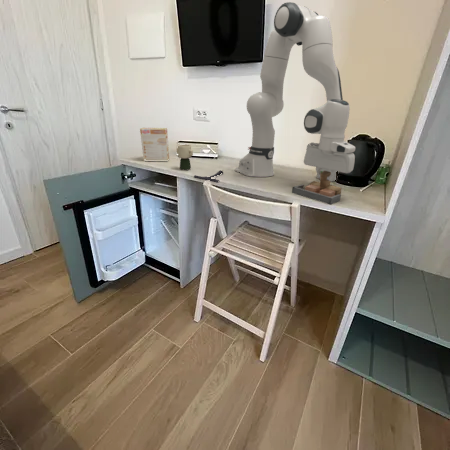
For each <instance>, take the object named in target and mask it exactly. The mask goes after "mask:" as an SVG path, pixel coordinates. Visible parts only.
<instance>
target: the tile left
mask: <svg viewBox="0 0 450 450" xmlns="http://www.w3.org/2000/svg"><path fill="white" fill-rule="evenodd" d="M304 187H305V188H304V190H308V191H311V192H315V193H318V194H319V192H320V188H321V187H319V186H315V185H312V184H311V185H310V184H309V185H306V186H304Z"/></svg>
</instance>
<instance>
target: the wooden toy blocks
mask: <svg viewBox="0 0 450 450" xmlns="http://www.w3.org/2000/svg"><path fill="white" fill-rule="evenodd" d="M330 175H331V172H328V171H323V172H322V173H320V179H319V181H315V180H312V181H311V182H310V183H309V185H311V184H312V185H315V186H319V187H321V188H320V190H322V189H325V188H327V189H330V190H334V191H336V192H335V195H338V194H340V195H341V196H342V187H340V186H337V185H331V182H330V181H327V176H330Z"/></svg>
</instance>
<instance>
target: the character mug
mask: <svg viewBox="0 0 450 450" xmlns="http://www.w3.org/2000/svg"><path fill="white" fill-rule="evenodd" d="M176 154H177V157H178V158H180V160H179V169H180V168H181V169H180V170H183V169H184V170H187V169H188V170H191V169H192V166H191V160H190V158H191V157H192V156H194V150H193V149H192V145H190V144H178V145H177V147H176ZM190 168H191V169H190Z"/></svg>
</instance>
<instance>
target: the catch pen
mask: <svg viewBox="0 0 450 450" xmlns="http://www.w3.org/2000/svg"><path fill="white" fill-rule="evenodd" d="M304 187H305V184H303V183H301V184H299V185H294V186H292V190H291V193H292V194H295V195H299V196H301V197H305V198H309V199H312V200H315V201H318V202H321V203H324V204H328V205H332V204H335V203H338V202H340V201H341V196H342V194H341V195H340V194H338V195H335V196H332V197H329V196H325V195H322V194H318V193H315V192H311V191H308V190H305V188H304Z"/></svg>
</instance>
